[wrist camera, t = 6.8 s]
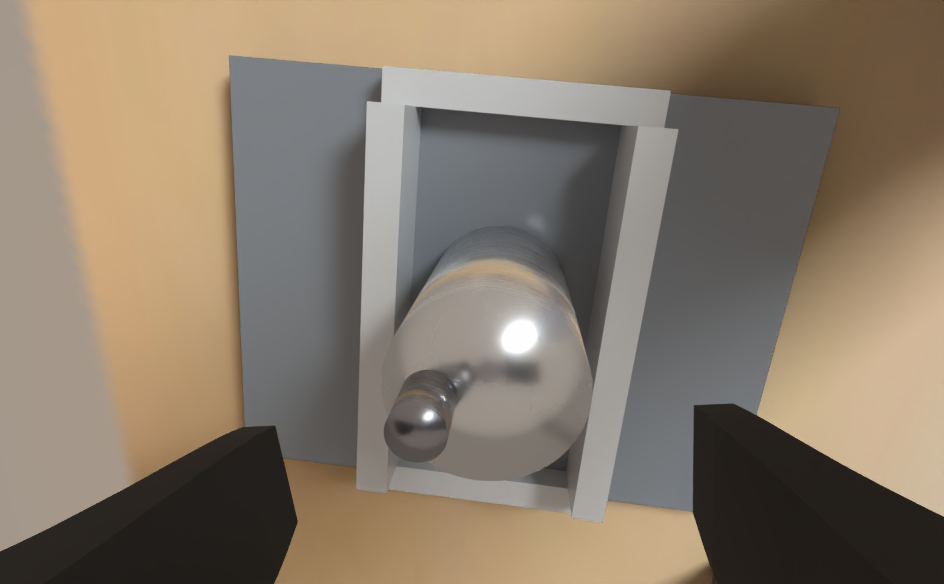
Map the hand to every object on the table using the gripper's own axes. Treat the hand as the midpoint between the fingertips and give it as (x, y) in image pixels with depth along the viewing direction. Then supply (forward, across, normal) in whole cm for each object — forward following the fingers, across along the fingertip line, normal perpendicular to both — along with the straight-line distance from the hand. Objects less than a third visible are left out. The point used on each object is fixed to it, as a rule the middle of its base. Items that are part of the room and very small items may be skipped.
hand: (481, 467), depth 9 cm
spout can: (+9, 0, 0) cm, 9 cm away
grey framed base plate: (+10, 0, 0) cm, 10 cm away
